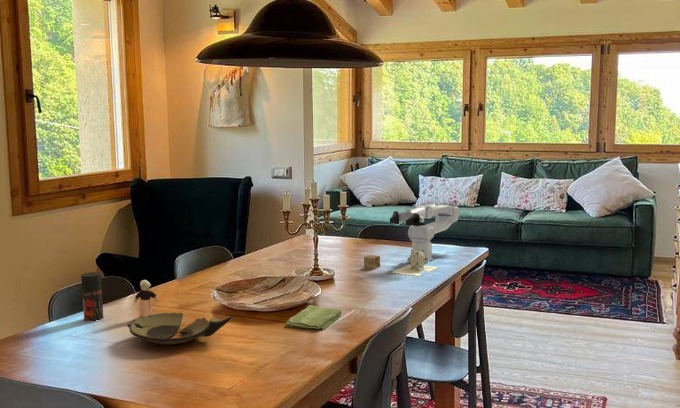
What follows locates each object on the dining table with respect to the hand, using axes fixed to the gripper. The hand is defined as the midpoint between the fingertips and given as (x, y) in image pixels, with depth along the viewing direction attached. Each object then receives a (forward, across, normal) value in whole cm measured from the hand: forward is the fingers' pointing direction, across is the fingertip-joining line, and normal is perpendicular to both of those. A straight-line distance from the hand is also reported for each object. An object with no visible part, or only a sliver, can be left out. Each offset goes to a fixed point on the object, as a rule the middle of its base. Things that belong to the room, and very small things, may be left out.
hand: (398, 221), depth 277 cm
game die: (-4, +7, +20) cm, 22 cm away
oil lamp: (+113, -11, +15) cm, 114 cm away
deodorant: (+112, -51, +16) cm, 124 cm away
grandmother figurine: (+102, -37, +16) cm, 110 cm away
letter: (-2, +7, +20) cm, 21 cm away
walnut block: (+4, -11, +20) cm, 24 cm away
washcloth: (+76, +12, +16) cm, 79 cm away
